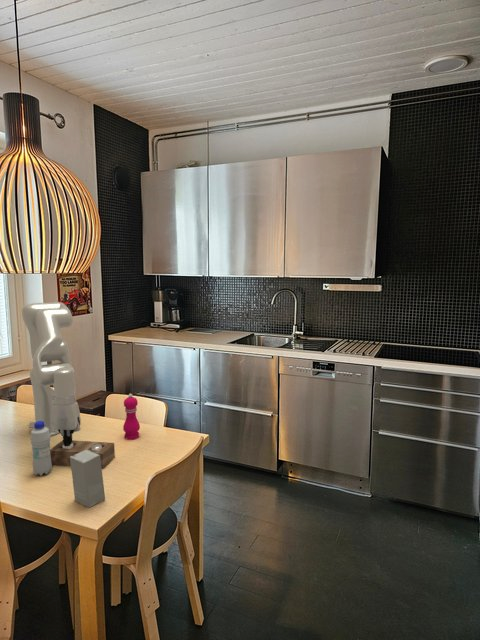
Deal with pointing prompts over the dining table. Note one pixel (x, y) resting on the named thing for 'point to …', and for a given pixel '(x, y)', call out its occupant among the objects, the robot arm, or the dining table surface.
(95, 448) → the peg
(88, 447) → the socket block
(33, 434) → the bottle
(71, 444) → the peg
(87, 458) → the skincare box
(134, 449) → the dining table surface
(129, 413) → the pepper mill
